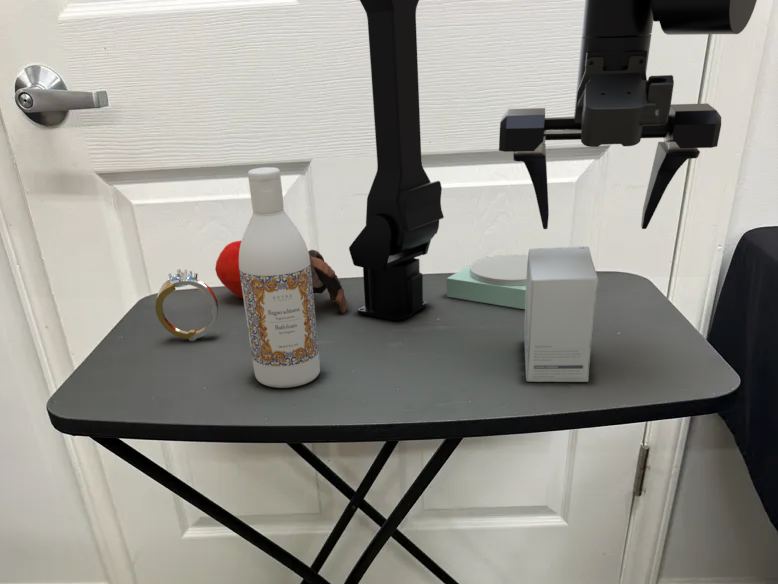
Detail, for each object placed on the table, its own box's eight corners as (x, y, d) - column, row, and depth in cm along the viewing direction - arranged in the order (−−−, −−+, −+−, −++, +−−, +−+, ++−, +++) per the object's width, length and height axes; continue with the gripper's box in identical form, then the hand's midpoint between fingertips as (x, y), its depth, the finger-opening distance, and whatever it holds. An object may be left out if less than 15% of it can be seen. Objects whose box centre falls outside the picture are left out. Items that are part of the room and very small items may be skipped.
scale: (445, 296, 100) (446, 271, 98) (485, 273, 107) (485, 249, 105) (540, 312, 94) (542, 285, 92) (574, 286, 101) (577, 261, 99)
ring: (224, 333, 93) (212, 265, 88) (220, 342, 90) (208, 273, 86) (166, 336, 93) (152, 269, 88) (161, 346, 90) (146, 277, 86)
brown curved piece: (350, 325, 94) (312, 272, 89) (287, 355, 98) (248, 306, 93) (357, 271, 102) (322, 219, 97) (299, 301, 106) (262, 252, 101)
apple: (213, 307, 101) (203, 248, 97) (232, 287, 107) (223, 232, 103) (272, 307, 100) (264, 248, 95) (287, 288, 106) (281, 231, 102)
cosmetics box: (521, 343, 86) (527, 246, 80) (580, 343, 85) (591, 245, 79) (522, 382, 77) (530, 277, 71) (588, 383, 77) (601, 276, 70)
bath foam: (258, 393, 78) (228, 180, 67) (252, 367, 84) (222, 167, 72) (325, 384, 79) (307, 173, 68) (314, 359, 85) (295, 160, 73)
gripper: (500, 47, 61) (491, 251, 70) (754, 36, 57) (710, 252, 66) (506, 38, 69) (497, 220, 78) (726, 28, 66) (690, 219, 75)
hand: (593, 228), depth 74 cm, fingers open, 9 cm apart
